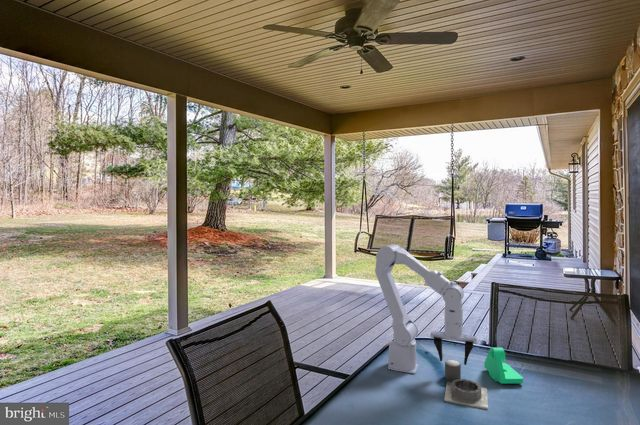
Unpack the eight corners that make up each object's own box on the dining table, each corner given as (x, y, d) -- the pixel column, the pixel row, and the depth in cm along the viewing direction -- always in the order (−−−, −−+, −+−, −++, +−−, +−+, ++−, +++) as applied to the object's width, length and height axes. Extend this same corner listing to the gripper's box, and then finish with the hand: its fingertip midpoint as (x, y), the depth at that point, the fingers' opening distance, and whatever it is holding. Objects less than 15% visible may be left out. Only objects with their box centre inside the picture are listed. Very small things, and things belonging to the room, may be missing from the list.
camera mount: (524, 386, 124) (524, 355, 124) (500, 386, 124) (501, 355, 124) (505, 370, 136) (506, 341, 136) (484, 370, 136) (484, 341, 136)
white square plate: (444, 401, 115) (444, 391, 115) (446, 383, 126) (447, 373, 126) (488, 409, 111) (488, 398, 111) (487, 390, 122) (487, 380, 122)
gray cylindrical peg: (444, 380, 128) (444, 364, 128) (445, 373, 133) (445, 358, 133) (460, 382, 127) (460, 367, 126) (460, 376, 131) (461, 361, 131)
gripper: (429, 322, 128) (429, 363, 129) (476, 328, 123) (476, 370, 123) (431, 316, 135) (431, 355, 135) (476, 321, 129) (476, 361, 130)
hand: (453, 361), depth 130 cm, fingers open, 7 cm apart
